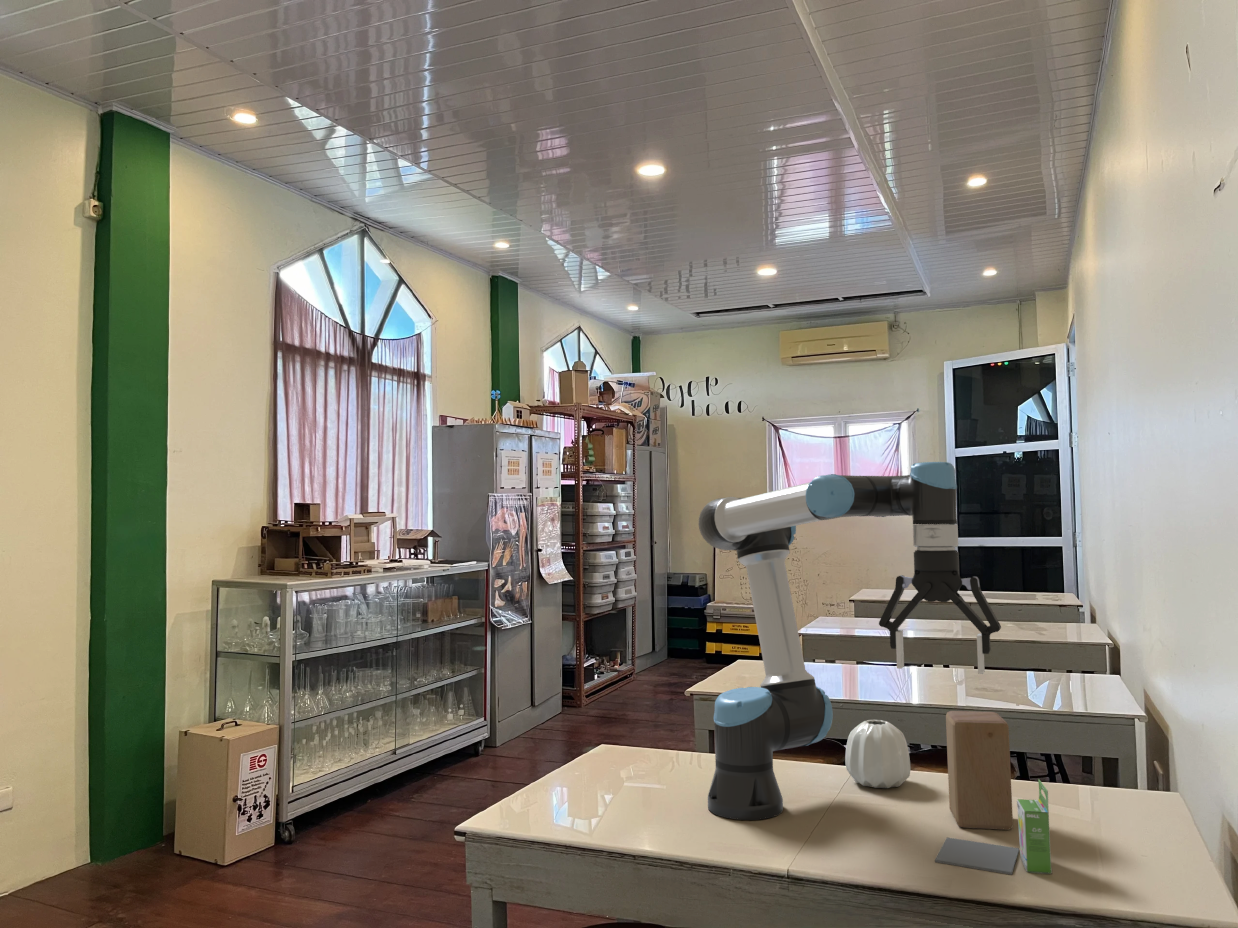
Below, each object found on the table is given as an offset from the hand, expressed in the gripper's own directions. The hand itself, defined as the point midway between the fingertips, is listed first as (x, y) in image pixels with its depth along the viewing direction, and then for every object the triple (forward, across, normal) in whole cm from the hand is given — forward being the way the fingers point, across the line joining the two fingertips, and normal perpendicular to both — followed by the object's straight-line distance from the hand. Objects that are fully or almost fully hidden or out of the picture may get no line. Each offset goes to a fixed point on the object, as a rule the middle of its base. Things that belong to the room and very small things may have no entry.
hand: (940, 670), depth 156 cm
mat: (+31, +5, +1) cm, 32 cm away
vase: (+32, -19, +37) cm, 52 cm away
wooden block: (+32, +3, +20) cm, 38 cm away
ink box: (+32, +14, +1) cm, 35 cm away
